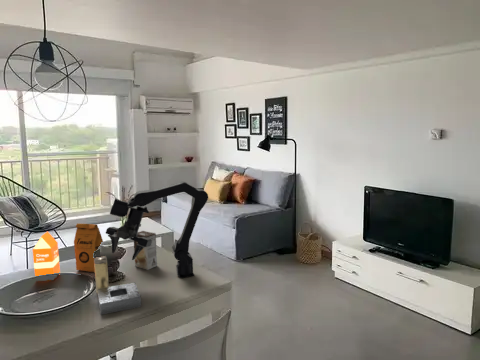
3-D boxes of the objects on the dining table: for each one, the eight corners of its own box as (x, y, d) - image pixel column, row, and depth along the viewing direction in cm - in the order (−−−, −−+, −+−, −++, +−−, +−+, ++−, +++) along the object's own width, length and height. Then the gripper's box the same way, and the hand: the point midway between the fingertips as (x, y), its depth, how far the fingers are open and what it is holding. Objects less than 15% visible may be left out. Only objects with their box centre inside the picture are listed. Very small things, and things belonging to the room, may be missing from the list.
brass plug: (110, 289, 155) (107, 256, 153) (107, 294, 151) (105, 260, 149) (98, 289, 155) (95, 256, 153) (95, 294, 150) (92, 260, 148)
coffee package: (95, 274, 171) (92, 227, 168) (72, 272, 175) (69, 225, 172) (109, 267, 181) (106, 221, 178) (87, 264, 184) (84, 220, 182)
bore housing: (135, 292, 152) (134, 282, 151) (141, 306, 139) (140, 296, 139) (98, 298, 146) (97, 288, 146) (100, 314, 134) (99, 303, 133)
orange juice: (35, 282, 164) (31, 237, 161) (42, 274, 173) (38, 231, 170) (54, 280, 165) (50, 236, 163) (60, 273, 174) (57, 230, 171)
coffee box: (134, 266, 181) (132, 233, 179) (144, 262, 186) (142, 230, 184) (148, 270, 176) (146, 236, 174) (158, 265, 181) (156, 232, 179)
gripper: (104, 213, 153) (93, 251, 153) (146, 227, 150) (134, 265, 149) (117, 214, 164) (106, 249, 164) (156, 226, 161) (146, 262, 160)
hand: (122, 256), depth 159 cm, fingers open, 9 cm apart
